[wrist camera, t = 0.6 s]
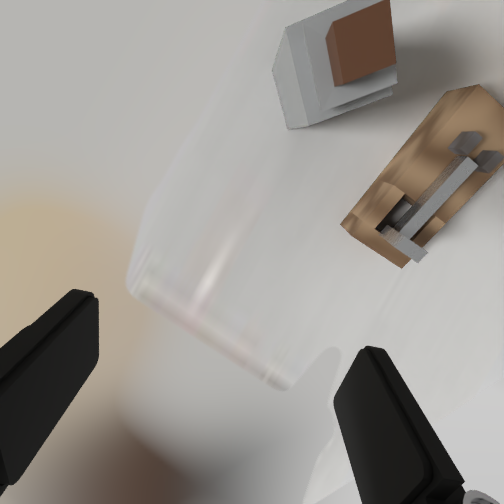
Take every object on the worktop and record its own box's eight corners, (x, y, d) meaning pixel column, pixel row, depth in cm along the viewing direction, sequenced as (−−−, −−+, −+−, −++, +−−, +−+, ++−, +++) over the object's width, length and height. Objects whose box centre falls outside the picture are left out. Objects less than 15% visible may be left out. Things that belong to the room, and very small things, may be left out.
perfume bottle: (271, 70, 31) (294, -3, 15) (327, 47, 30) (418, -59, 14) (287, 129, 34) (322, 124, 17) (339, 109, 33) (428, 84, 16)
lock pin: (451, 151, 30) (483, 153, 26) (472, 168, 31) (506, 173, 27) (378, 234, 34) (395, 248, 30) (398, 248, 35) (417, 262, 31)
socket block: (446, 91, 32) (495, 80, 26) (494, 134, 34) (550, 134, 28) (340, 224, 39) (357, 241, 32) (384, 253, 41) (409, 275, 34)
